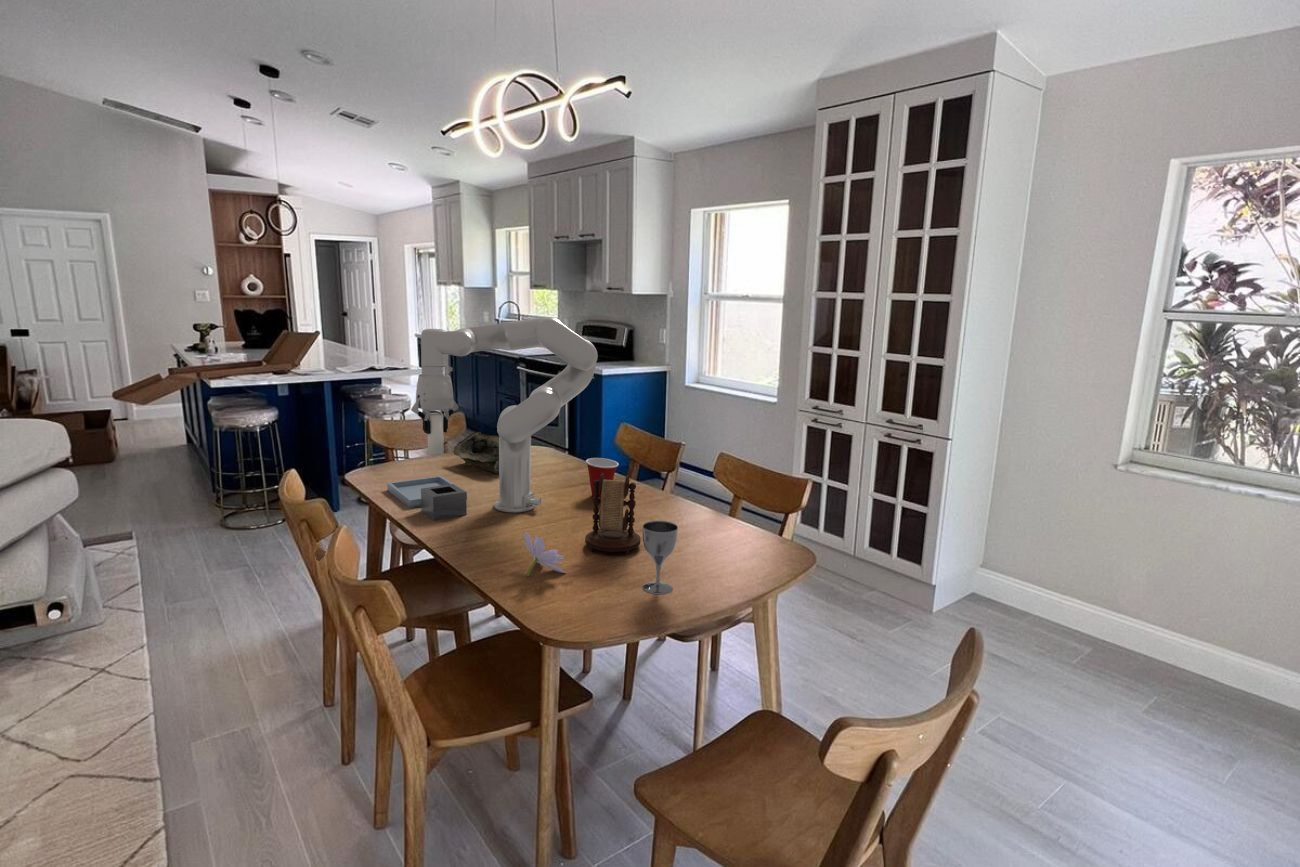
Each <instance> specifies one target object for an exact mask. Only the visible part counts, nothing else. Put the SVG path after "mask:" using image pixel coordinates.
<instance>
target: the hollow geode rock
mask: <svg viewBox="0 0 1300 867" xmlns="http://www.w3.org/2000/svg"><path fill="white" fill-rule="evenodd" d="M452 453H453V455H454V456H456V457H458V458H460V459H461V460H463V461H464V463H465V464H464V465H465V466H472V465H475V466H479V467H481V468H483V469H484V470H487V471H489V472H492V473H494V474H497V475H499V435H493V434H492V435H488V434H486V433H481V431H474V432H472V433H470V434H469V435H468V436H466V437H464V439H463V440H461V441H459V442H457V443H456V445H455V446H454V448H453V450H452Z"/></svg>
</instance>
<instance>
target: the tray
mask: <svg viewBox="0 0 1300 867" xmlns="http://www.w3.org/2000/svg"><path fill="white" fill-rule="evenodd" d="M386 484H387V485H386V486H387V488H386V489H387V491H388V492H389V493H391V494H392V496H394V497H395V498H396V499H398V500H399V501H400V502H401V503H403V504H404V505H406V506H407V507H408V508H409V509H416V508H421V488H428V487H435V486H442V485H449V484H454V485H456V486H457V487H459V488H461V487H460V486H459V485H457V484H455V483H453V482H452V481H450V480H449V479H447V478H446V477H444V476H442V475H437V476H430V477H423V478H422V477H421V478H414V479H408V480H399V481H392V482H391V481H389V482H387V483H386ZM461 489H462V490H464V491H465V492H466V500H467V499H468V492H467V491H466V490H465V489H463V488H461Z"/></svg>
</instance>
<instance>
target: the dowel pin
mask: <svg viewBox="0 0 1300 867" xmlns="http://www.w3.org/2000/svg"><path fill="white" fill-rule="evenodd" d="M429 421H430V429H431V433H430V434H427V455H429V456H441V455H444V454H445V453H444V432H443V414H442V413H441V412H430V415H429Z"/></svg>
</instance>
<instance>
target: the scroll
mask: <svg viewBox="0 0 1300 867" xmlns="http://www.w3.org/2000/svg"><path fill="white" fill-rule="evenodd" d="M593 485H594V486H595V487H594V489H595V491H594V496H595V497H593V496H592V497H593V498H592V504H593V506H594V508H593V510H592V512H593V514H592V520H593V521H592V523H593V525H592V531H590V532H588V533H586V535H585V536H584V537H585V539H584V543H585V545H586V546H587V547H589V551H590V552H593V551H594V550H597V551H601V552H608V553H613V552H614V553H617V552H624V553H625V555H626V556H628V555H629V553H630V551H631V550H634V549H637V548H638V547H639V546H640V545H641V539H642V538H641V536H640V535H639V534H638V533H636V532H635V529H634V527H633V526H634V525H635V524H634V523H635V522H636V518H635V517H634V516H635V512H634V511H635V510H634V509H635V507H636V500H635V498H636V497H635V496H636V495H635V492H636V490H635V489H636V488H637V485H636V483H635V482H631V483H630V476H629V475H628V474H627V475H626V476H625V478H624V480H617V479H616V480H614V479H613V480H604V474H603V473H602V474H601V476H600V480H595V481H594V482H593ZM598 489H599V490H598ZM599 493H600V494H601V499H600V498H599ZM628 495H629V496H628ZM627 496H628V498H629V500H626V499H627ZM599 506H600V508H599ZM626 506H627V507H628V508H626V509H625V512H624V507H626Z"/></svg>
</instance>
